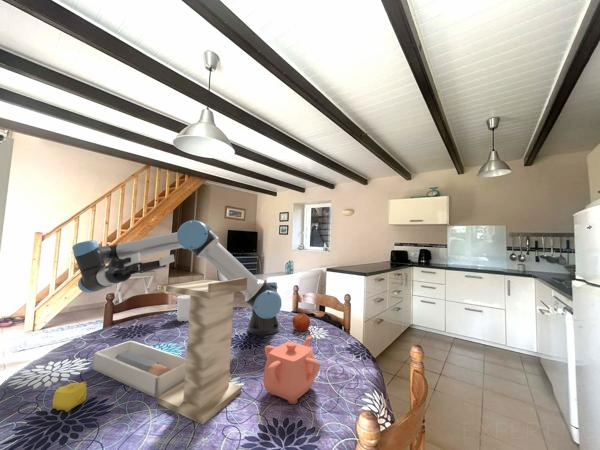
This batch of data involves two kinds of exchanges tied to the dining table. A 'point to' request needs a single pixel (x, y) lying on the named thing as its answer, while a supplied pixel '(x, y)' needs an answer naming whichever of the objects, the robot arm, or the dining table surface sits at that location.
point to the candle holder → (183, 307)
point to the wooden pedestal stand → (206, 350)
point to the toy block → (69, 396)
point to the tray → (136, 377)
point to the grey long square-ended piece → (142, 363)
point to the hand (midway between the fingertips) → (157, 257)
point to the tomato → (301, 322)
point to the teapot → (290, 370)
